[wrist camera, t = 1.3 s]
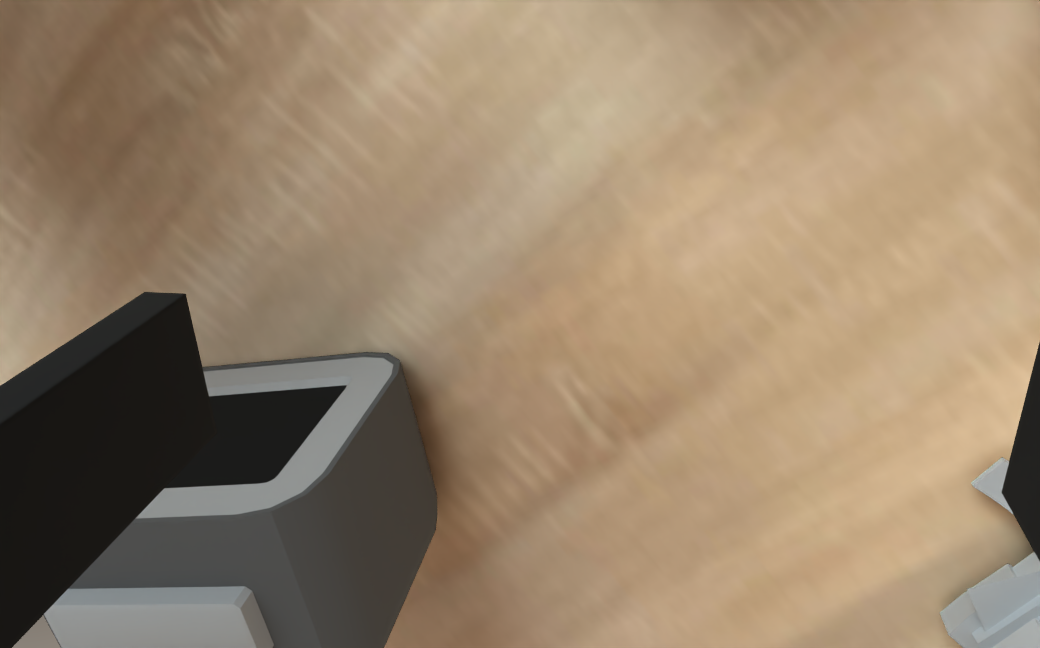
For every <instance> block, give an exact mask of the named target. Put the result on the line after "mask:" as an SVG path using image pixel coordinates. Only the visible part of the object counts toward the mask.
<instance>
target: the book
mask: <svg viewBox="0 0 1040 648" xmlns="http://www.w3.org/2000/svg"><path fill="white" fill-rule="evenodd" d="M1008 465H1009V461H1008V460H1006V459H1005V458H1003V457H1001V458H1000V459H999V460H998V461H997V462H995V463H994V464H993V465H992V466H991V467H989V468H988V469H987V470H986V471H985V472H983V473H982V474H981V475H980V476H978V477H977V478H976V479H975V480H974V481H972V482H971V484H972V485H973V487H975V488H976V489H978V490H979V491H981V492H982V493H984V494H986V495H987V496H989V497H990V498H992V499H993V500H995V501H996V502H997V503H999V504H1000V505H1002V506H1003V507H1004V508H1006V509H1007V510H1008V511H1010V512H1011V513H1012V514H1013V512H1012V511H1011V509H1010V507H1009V505H1008V503H1007V502H1006V500H1005V498H1004V496H1003V494H1002V488H1003V484H1004V480H1005V476H1006V472H1007V468H1008ZM1013 515H1014V514H1013ZM940 615H941V618H942V620H943V622H944V625H945V627H946V630H947V632H948V635H949V636H950V637H951V638H953V639H954V640H955V641H956V642H957V643H958V644H959V645H961V646H962V647H963V648H1040V561H1039V559H1038V557H1037V556H1036V554H1035V552H1033V553H1031V554H1030V555H1029V556H1027V557H1026V558H1025V559H1023V560H1022V561H1020V562H1019V563H1018V564H1016V565H1015V566H1014V567H1013V566H1011V565H1010V564H1008V563H1007V564H1006V565H1004V566H1003V567H1001V568H1000V569H998V570H997V571H996V572H994V573H993V574H991V575H990V576H988V577H987V578H985V579H984V580H982V581H981V582H979V583H978V584H976V585H975V586H973V587H972V588H968V589H967V591H966V592H965V593H963V594H962V595H960V596H959V597H958V598H957V599H955V600H954V601H953V602H952V603H951V604H949V605H948V606H947V607H946V608H945V609H943V610H942V611H941V612H940Z"/></svg>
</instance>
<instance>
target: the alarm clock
mask: <svg viewBox="0 0 1040 648" xmlns="http://www.w3.org/2000/svg"><path fill="white" fill-rule="evenodd" d="M202 368H203V372H204V377H205V381H206V385H207V390H208V394H209V399H210V403H211V407H212V412H213V416H214V420H215V425H216V429H217V434H216V435H215V436H214V437H213V438H212V439H211V440H210V441H209V442H208V443H207V444H206V445H205V446H204V447H203V448H202V449H201V451H200V452H199V453H198V454H197V455H196V456H195V457H194V458H193V459H192V460H191V461H190V462H189V463H188V464H187V465H186V466H185V467H184V468H183V469H182V470H181V471H180V472H179V473H178V475H177V476H176V477H175V478H174V479H173V480H172V481H171V482H170V483H169V484H168V485H167V486H166V487H165V488H164V489H163V490H162V491H161V492H160V493H159V494H158V495H157V496H156V498H155V499H154V500H153V501H152V502H151V503H150V504H149V505H148V506H147V507H146V508H145V509H144V510H143V511H142V512H141V513H140V514H139V515H138V516H137V517H136V518H135V519H134V520H133V522H132V523H131V524H130V525H129V526H128V527H127V528H126V529H125V530H124V531H123V532H122V533H121V534H120V535H119V536H118V537H117V538H116V539H115V540H114V541H113V542H112V543H111V545H110V546H109V547H108V548H107V549H106V550H105V551H104V552H103V553H102V554H101V555H100V556H99V557H98V558H97V559H96V560H95V561H94V562H93V563H92V564H91V565H90V566H89V567H88V569H87V570H86V571H85V572H84V573H83V574H82V575H81V576H80V577H79V578H78V579H77V580H76V581H75V582H74V583H73V584H72V585H71V586H70V587H69V588H68V589H67V590H66V592H65V593H64V594H63V595H62V596H61V597H60V598H59V599H58V600H57V601H56V602H55V603H54V604H53V605H52V606H51V607H50V608H49V609H48V610H47V611H46V612H45V613H44V614H43V615H44V617H45V619H46V621H47V623H48V625H49V627H50V629H51V630H52V632H53V634H54V636H55V638H56V639H57V641H58V643H59V645H60V647H61V648H384V646H385V644H386V642H387V640H388V637H389V635H390V633H391V631H392V628H393V626H394V624H395V621H396V619H397V617H398V615H399V612H400V610H401V608H402V605H403V603H404V601H405V599H406V596H407V594H408V592H409V590H410V587H411V585H412V583H413V580H414V578H415V576H416V574H417V571H418V569H419V567H420V564H421V562H422V560H423V558H424V555H425V553H426V551H427V549H428V546H429V544H430V542H431V539H432V537H433V535H434V533H435V530H436V521H437V493H436V489H435V485H434V482H433V478H432V474H431V471H430V467H429V464H428V460H427V456H426V453H425V449H424V445H423V442H422V438H421V435H420V431H419V427H418V424H417V420H416V417H415V413H414V409H413V406H412V402H411V398H410V395H409V391H408V388H407V384H406V380H405V377H404V373H403V370H402V366H401V362H400V360H398V359H397V358H395V357H394V356H392V355H390V354H389V353H372V352H364V353H353V354H342V355H331V356H321V357H310V358H299V359H288V360H277V361H266V362H256V363H245V364H234V365H223V366H212V367H202Z"/></svg>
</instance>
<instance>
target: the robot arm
mask: <svg viewBox="0 0 1040 648" xmlns="http://www.w3.org/2000/svg"><path fill="white" fill-rule="evenodd" d="M216 434H217V429H216V425H215V420H214V416H213V412H212V407H211V403H210V399H209V394H208V390H207V385H206V381H205V377H204V372H203V368H202V364H201V359H200V355H199V351H198V346H197V342H196V337H195V333H194V329H193V324H192V320H191V316H190V311H189V307H188V303H187V298H186V294H179V293H155V292H144V293H143V294H141V295H139V296H138V297H136V298H135V299H133V300H132V301H130V302H129V303H127V304H126V305H124V306H123V307H121V308H119V309H118V310H116V311H115V312H113V313H112V314H110V315H109V316H107V317H106V318H104V319H103V320H101V321H99V322H98V323H96V324H95V325H93V326H92V327H90V328H89V329H87V330H86V331H84V332H83V333H81V334H79V335H78V336H76V337H75V338H73V339H72V340H70V341H69V342H67V343H66V344H64V345H62V346H61V347H59V348H58V349H56V350H55V351H53V352H52V353H50V354H49V355H47V356H46V357H44V358H42V359H41V360H39V361H38V362H36V363H35V364H33V365H32V366H30V367H29V368H27V369H26V370H24V371H22V372H21V373H19V374H18V375H16V376H15V377H13V378H12V379H10V380H9V381H7V382H6V383H4V384H2V385H1V386H0V648H12V647H13V646H14V645H15V644H16V643H17V642H18V641H19V639H21V637H22V636H23V635H24V634H25V633H26V632H27V631H28V630H29V629H30V628H31V627H32V626H33V625H34V624H35V623H36V622H37V620H39V619H40V618H41V617H42V615H43V614H44V613H45V612H46V611H47V610H48V609H49V608H50V607H51V606H52V605H53V604H54V603H55V602H56V601H57V600H58V599H59V598H60V597H61V596H62V595H63V594H64V593H65V592H66V590H67V589H68V588H69V587H70V586H71V585H72V584H73V583H74V582H75V581H76V580H77V579H78V578H79V577H80V576H81V575H82V574H83V573H84V572H85V571H86V570H87V569H88V567H89V566H90V565H91V564H92V563H93V562H94V561H95V560H96V559H97V558H98V557H99V556H100V555H101V554H102V553H103V552H104V551H105V550H106V549H107V548H108V547H109V546H110V545H111V543H112V542H113V541H114V540H115V539H116V538H117V537H118V536H119V535H120V534H121V533H122V532H123V531H124V530H125V529H126V528H127V527H128V526H129V525H130V524H131V523H132V522H133V520H134V519H135V518H136V517H137V516H138V515H139V514H140V513H141V512H142V511H143V510H144V509H145V508H146V507H147V506H148V505H149V504H150V503H151V502H152V501H153V500H154V499H155V498H156V496H157V495H158V494H159V493H160V492H161V491H162V490H163V489H164V488H165V487H166V486H167V485H168V484H169V483H170V482H171V481H172V480H173V479H174V478H175V477H176V476H177V475H178V473H179V472H180V471H181V470H182V469H183V468H184V467H185V466H186V465H187V464H188V463H189V462H190V461H191V460H192V459H193V458H194V457H195V456H196V455H197V454H198V453H199V452H200V451H201V449H202V448H203V447H204V446H205V445H206V444H207V443H208V442H209V441H210V440H211V439H212V438H213V437H214V436H215V435H216ZM1002 494H1003V496H1004V498H1005V500H1006V502H1007V503H1008V505H1009V507H1010V509H1011V511H1012V512H1013V514H1014V516H1015V518H1016V520H1017V521H1018V523H1019V525H1020V527H1021V529H1022V530H1023V532H1024V534H1025V536H1026V538H1027V539H1028V541H1029V543H1030V545H1031V547H1032V548H1033V550H1034V552H1035V554H1036V556H1037V557H1038V559H1039V561H1040V343H1039V347H1038V351H1037V355H1036V359H1035V362H1034V366H1033V370H1032V374H1031V378H1030V382H1029V386H1028V390H1027V394H1026V398H1025V402H1024V406H1023V410H1022V413H1021V417H1020V421H1019V425H1018V429H1017V433H1016V437H1015V441H1014V445H1013V449H1012V453H1011V457H1010V461H1009V465H1008V468H1007V472H1006V476H1005V480H1004V484H1003V488H1002Z"/></svg>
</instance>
